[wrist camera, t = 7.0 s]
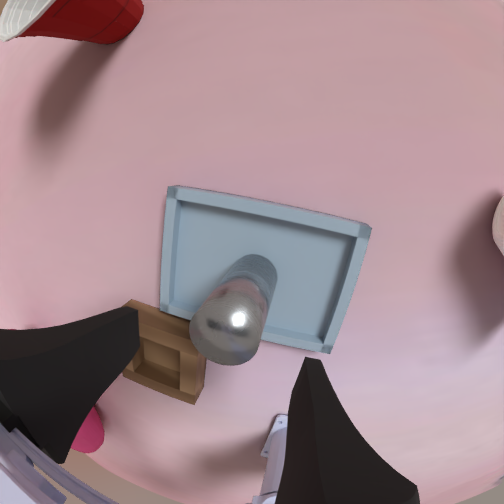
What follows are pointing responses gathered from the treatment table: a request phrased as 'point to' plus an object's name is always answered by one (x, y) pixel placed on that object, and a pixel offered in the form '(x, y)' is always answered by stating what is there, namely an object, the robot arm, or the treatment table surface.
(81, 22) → the plastic cup
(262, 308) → the dowel
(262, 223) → the tray
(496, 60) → the treatment table surface
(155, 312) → the socket block
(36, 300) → the treatment table surface
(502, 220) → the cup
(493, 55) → the treatment table surface
